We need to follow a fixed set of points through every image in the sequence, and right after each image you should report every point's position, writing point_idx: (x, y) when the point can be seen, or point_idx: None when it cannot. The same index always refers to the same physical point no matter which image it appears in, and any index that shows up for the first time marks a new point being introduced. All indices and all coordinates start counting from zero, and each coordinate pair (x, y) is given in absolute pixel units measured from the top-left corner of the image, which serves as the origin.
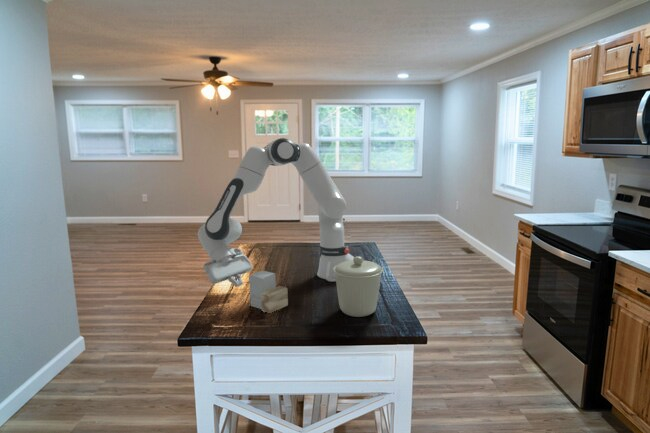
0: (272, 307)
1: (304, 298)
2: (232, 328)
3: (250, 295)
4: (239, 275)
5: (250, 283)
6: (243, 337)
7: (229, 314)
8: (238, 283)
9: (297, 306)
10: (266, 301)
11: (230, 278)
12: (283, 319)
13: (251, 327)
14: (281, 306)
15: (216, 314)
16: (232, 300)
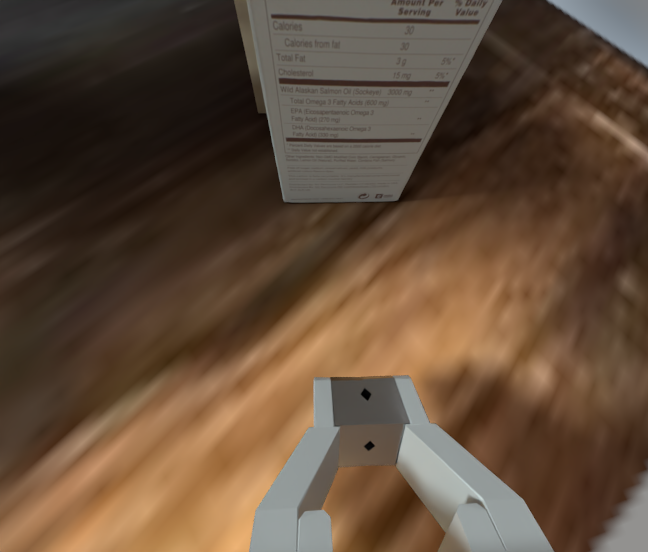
0: None
1: (139, 61)
2: (602, 101)
3: (425, 145)
4: (296, 522)
5: (489, 10)
6: (594, 32)
7: (551, 213)
8: (390, 383)
9: None
10: None
11: (529, 541)
12: None
13: (531, 56)
14: None
15: (616, 270)
16: (425, 375)
